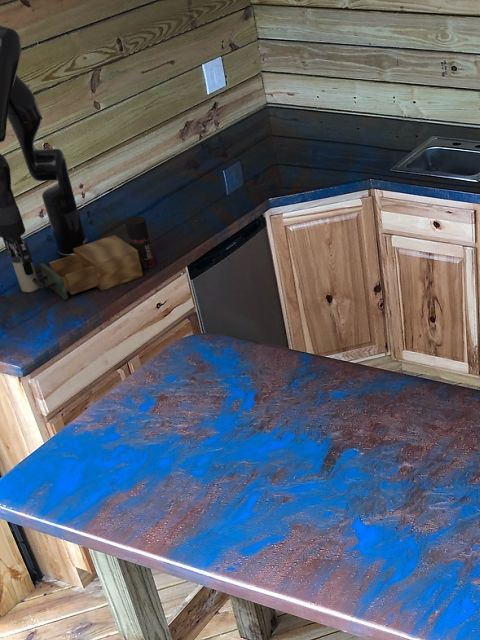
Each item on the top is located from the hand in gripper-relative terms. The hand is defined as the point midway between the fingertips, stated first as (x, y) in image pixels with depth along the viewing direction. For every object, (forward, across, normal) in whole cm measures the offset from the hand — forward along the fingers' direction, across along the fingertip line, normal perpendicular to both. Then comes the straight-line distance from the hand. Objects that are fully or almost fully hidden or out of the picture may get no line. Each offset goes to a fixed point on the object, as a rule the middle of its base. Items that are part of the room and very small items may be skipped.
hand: (23, 269), depth 274 cm
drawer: (+5, -10, -8) cm, 14 cm away
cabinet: (+6, -10, -22) cm, 25 cm away
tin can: (+6, 0, 0) cm, 6 cm away
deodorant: (+6, -10, -33) cm, 35 cm away
